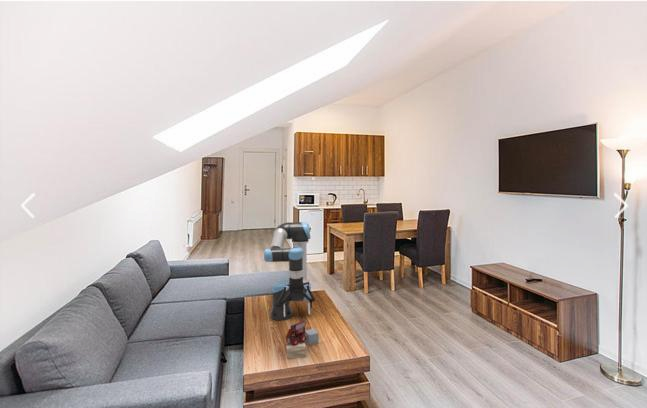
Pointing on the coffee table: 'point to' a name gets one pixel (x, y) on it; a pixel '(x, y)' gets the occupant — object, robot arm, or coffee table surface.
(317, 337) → the slate cube
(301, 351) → the maple block
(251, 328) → the coffee table surface
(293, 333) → the toy fire truck
